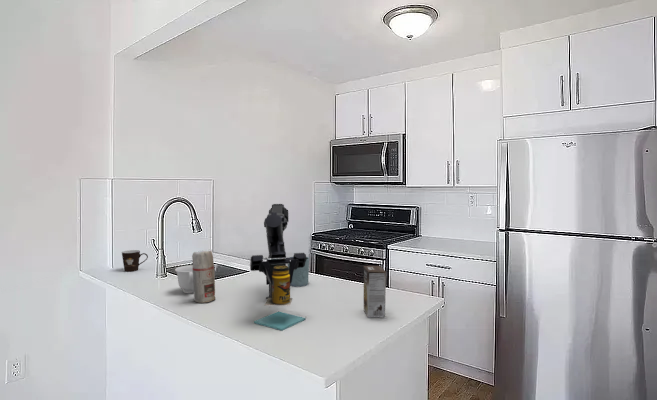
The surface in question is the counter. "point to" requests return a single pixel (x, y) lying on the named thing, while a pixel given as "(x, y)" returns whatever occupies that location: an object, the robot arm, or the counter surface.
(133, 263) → the coffee mug
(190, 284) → the teacup
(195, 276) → the spray can
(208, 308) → the counter surface
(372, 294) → the coffee box
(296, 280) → the grey teal cup
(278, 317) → the mat
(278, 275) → the condiment
